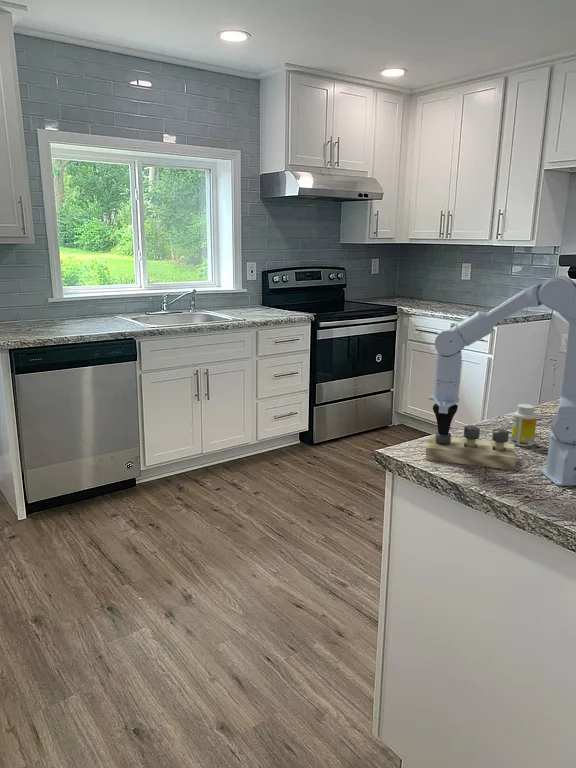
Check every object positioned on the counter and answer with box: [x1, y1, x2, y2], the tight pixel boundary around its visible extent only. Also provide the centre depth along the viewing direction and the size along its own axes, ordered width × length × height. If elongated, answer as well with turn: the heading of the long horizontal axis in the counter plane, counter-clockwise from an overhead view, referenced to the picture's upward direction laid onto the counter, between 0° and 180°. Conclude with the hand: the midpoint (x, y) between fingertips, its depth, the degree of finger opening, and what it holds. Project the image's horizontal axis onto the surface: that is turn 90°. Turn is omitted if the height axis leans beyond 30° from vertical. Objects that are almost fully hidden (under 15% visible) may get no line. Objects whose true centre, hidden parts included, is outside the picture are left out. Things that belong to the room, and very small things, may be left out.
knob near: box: [491, 428, 510, 451], centre depth 136 cm, size 4×4×5 cm
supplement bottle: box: [510, 403, 538, 447], centre depth 148 cm, size 6×6×10 cm
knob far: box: [435, 431, 452, 445], centre depth 141 cm, size 4×4×5 cm
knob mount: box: [425, 434, 517, 471], centre depth 139 cm, size 20×10×3 cm, turn 71°
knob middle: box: [463, 425, 481, 448], centre depth 138 cm, size 4×4×5 cm
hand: (443, 434), depth 140 cm, fingers closed, pressing on knob far
